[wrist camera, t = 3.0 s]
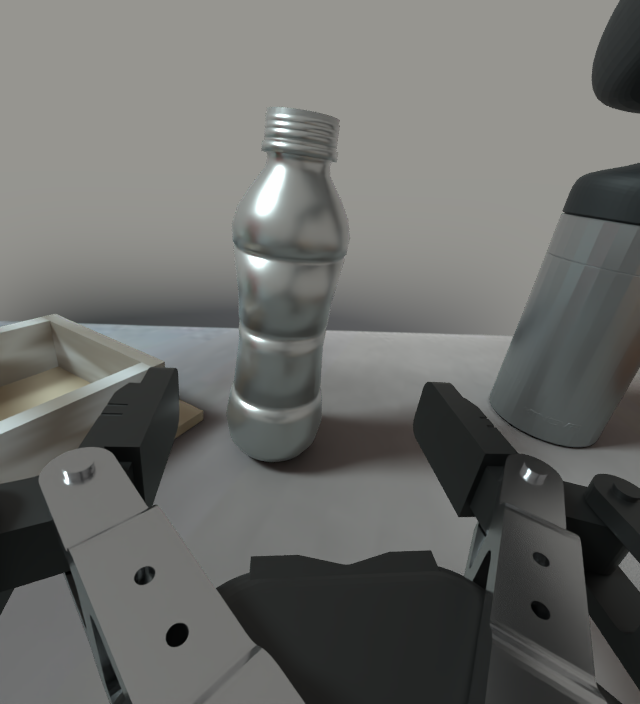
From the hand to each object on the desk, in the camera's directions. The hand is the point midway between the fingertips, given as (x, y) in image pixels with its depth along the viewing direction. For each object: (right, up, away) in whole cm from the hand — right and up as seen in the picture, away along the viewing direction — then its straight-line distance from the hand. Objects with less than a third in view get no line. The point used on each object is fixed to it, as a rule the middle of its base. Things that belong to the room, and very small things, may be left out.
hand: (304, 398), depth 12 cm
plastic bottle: (-3, -5, +15) cm, 16 cm away
